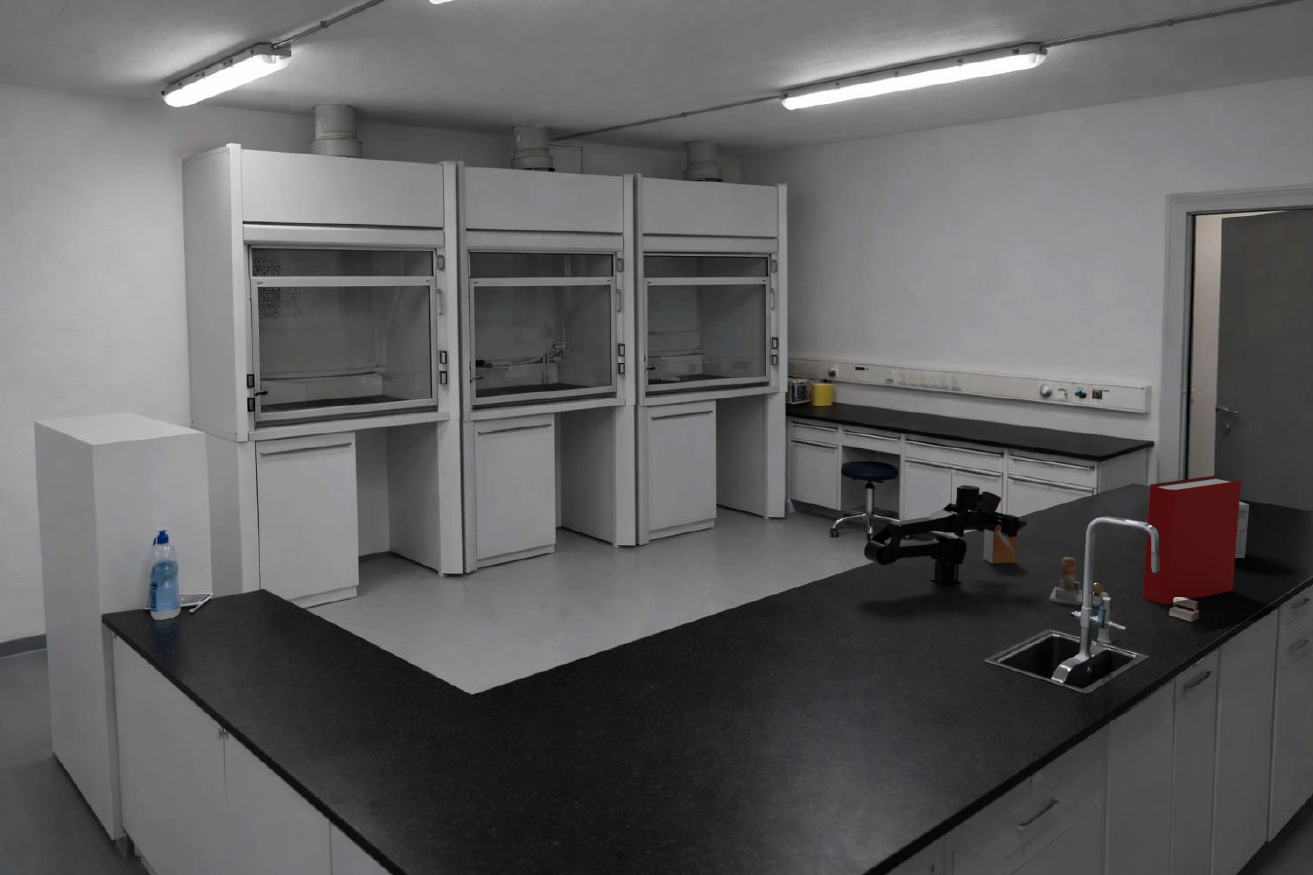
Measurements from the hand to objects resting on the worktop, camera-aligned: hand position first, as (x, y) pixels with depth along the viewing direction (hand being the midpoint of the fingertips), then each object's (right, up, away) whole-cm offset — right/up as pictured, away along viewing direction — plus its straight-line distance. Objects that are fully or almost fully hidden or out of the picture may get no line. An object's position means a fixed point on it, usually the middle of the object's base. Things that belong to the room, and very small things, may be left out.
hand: (1015, 519), depth 304 cm
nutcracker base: (+9, -20, -24) cm, 33 cm away
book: (+41, -19, -21) cm, 50 cm away
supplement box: (+70, -13, +19) cm, 74 cm away
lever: (+6, -18, -23) cm, 30 cm away
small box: (0, -14, +14) cm, 20 cm away
